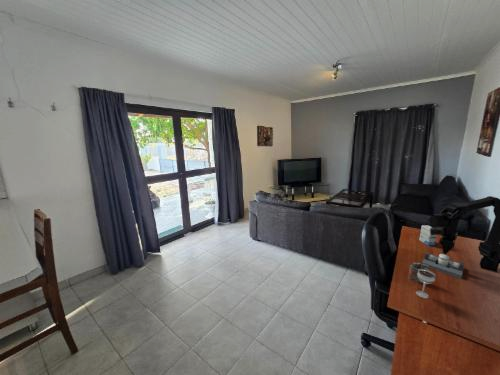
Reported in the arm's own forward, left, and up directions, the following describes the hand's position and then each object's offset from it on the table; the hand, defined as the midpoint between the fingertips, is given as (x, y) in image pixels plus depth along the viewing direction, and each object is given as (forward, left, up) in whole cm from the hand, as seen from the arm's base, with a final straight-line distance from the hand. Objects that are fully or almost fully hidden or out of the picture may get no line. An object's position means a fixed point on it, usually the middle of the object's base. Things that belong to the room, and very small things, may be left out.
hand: (445, 251), depth 123 cm
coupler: (0, 0, -10) cm, 10 cm away
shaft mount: (0, 0, -10) cm, 10 cm away
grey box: (+7, +25, -10) cm, 28 cm away
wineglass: (+3, +36, -10) cm, 38 cm away
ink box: (+11, -29, -10) cm, 33 cm away
